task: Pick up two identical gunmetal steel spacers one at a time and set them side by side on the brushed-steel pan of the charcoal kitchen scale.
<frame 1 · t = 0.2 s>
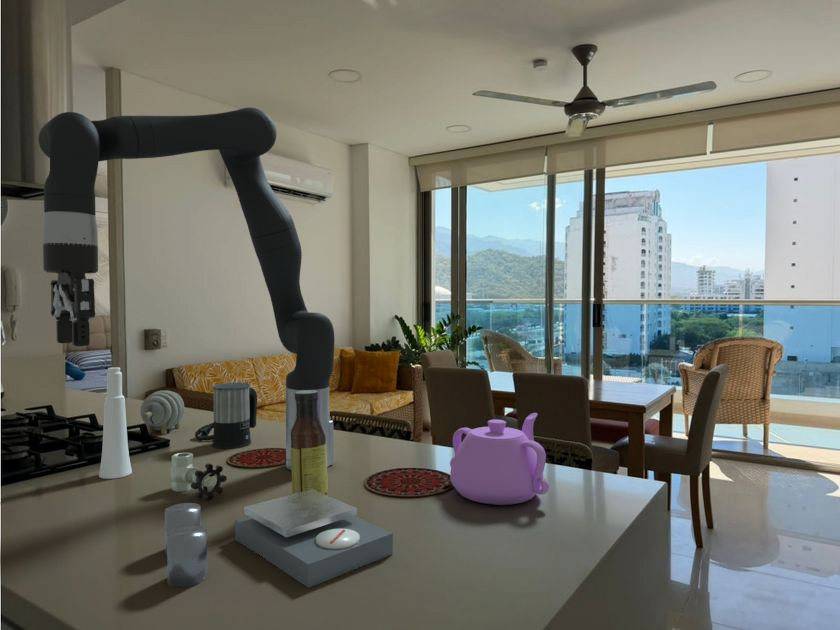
hand: (72, 344, 93), 29 cm above the kitchen counter, fingers open, 8 cm apart
sauce bottle: (309, 503, 104), on the kitchen counter
valve: (193, 494, 108), on the kitchen counter
teapot: (503, 492, 110), on the kitchen counter
cosmetic bottle: (115, 475, 119), on the kitchen counter
spacer a: (183, 549, 84), on the kitchen counter
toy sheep: (161, 432, 158), on the kitchen counter
spacer b: (187, 578, 76), on the kitchen counter
pan: (300, 510, 87), point 5 cm above the kitchen counter, slide at -0.5 cm
scale: (311, 546, 85), on the kitchen counter
milk frother: (222, 442, 147), on the kitchen counter
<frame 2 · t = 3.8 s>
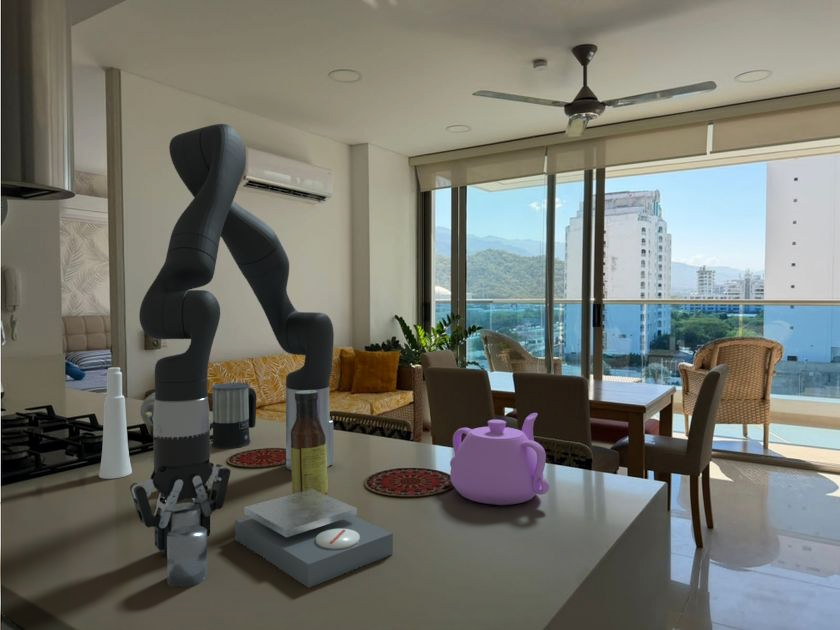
hand: (183, 545, 84), 1 cm above the kitchen counter, fingers closed on spacer a, 4 cm apart
spacer a: (183, 549, 84), on the kitchen counter, touching gripper
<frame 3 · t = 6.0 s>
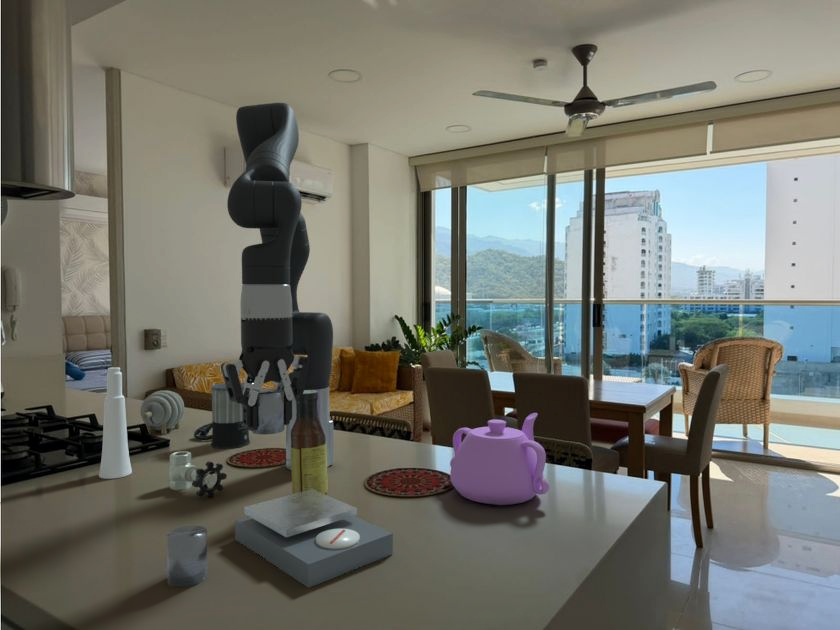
hand: (268, 426, 88), 17 cm above the kitchen counter, fingers closed on spacer a, 4 cm apart
spacer a: (268, 430, 88), point 16 cm above the kitchen counter, touching gripper
when the fingers open (7 cm above the kitchen counter, at t = 8.5 s): spacer a drops 2 cm, resting on pan.
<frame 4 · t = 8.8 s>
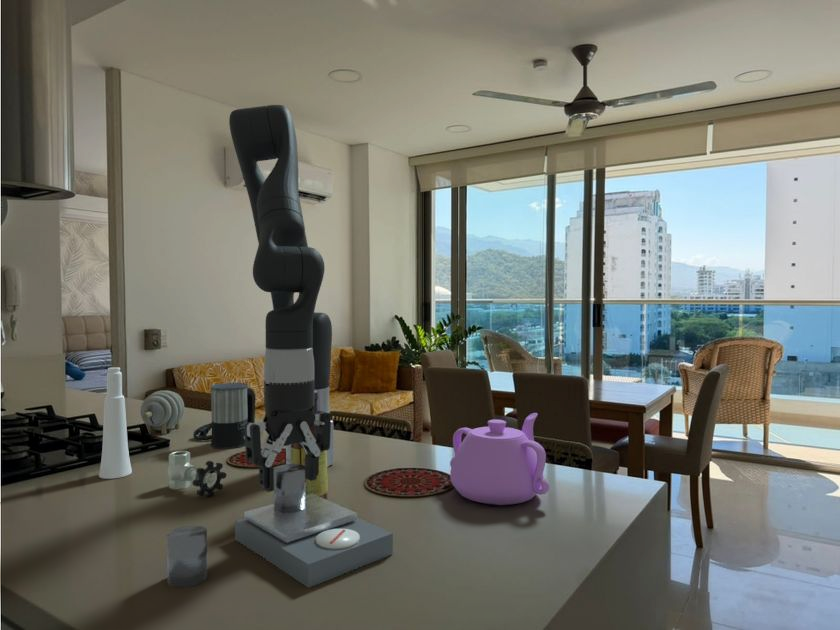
hand: (289, 484, 89), 8 cm above the kitchen counter, fingers open, 7 cm apart
spacer a: (289, 507, 89), point 4 cm above the kitchen counter, touching pan
pan: (300, 515, 87), point 4 cm above the kitchen counter, slide at -1.2 cm, touching spacer a
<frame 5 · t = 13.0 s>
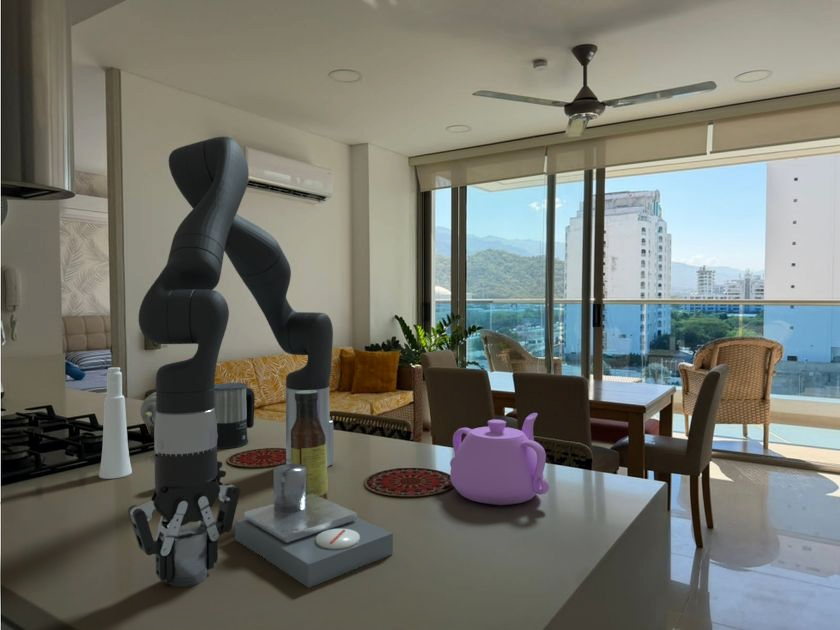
hand: (187, 573, 76), 1 cm above the kitchen counter, fingers closed on spacer b, 4 cm apart
spacer b: (187, 578, 76), on the kitchen counter, touching gripper
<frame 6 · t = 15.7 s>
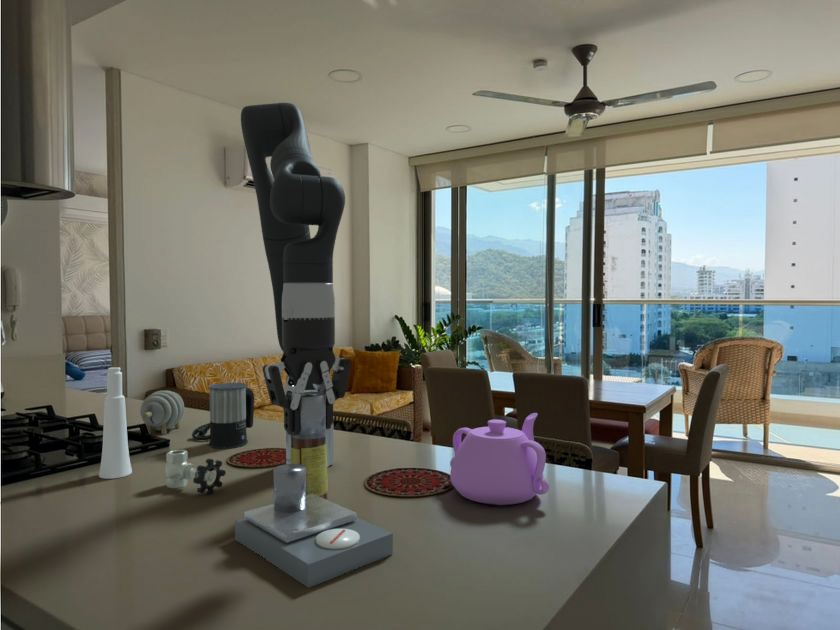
hand: (309, 430, 85), 17 cm above the kitchen counter, fingers closed on spacer b, 4 cm apart
spacer b: (309, 435, 85), point 16 cm above the kitchen counter, touching gripper
when the fingers open (7 cm above the kitchen counter, at t = 18.0 s): spacer b drops 2 cm, resting on pan.
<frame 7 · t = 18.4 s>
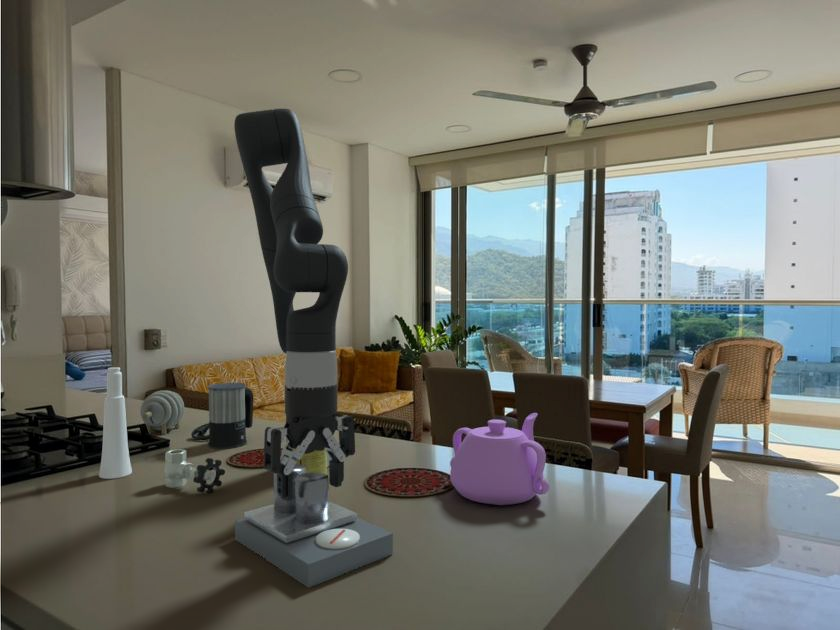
hand: (311, 492, 85), 8 cm above the kitchen counter, fingers open, 8 cm apart
spacer b: (311, 518, 85), point 4 cm above the kitchen counter, touching pan
pan: (300, 515, 87), point 4 cm above the kitchen counter, slide at -1.3 cm, touching spacer a, spacer b
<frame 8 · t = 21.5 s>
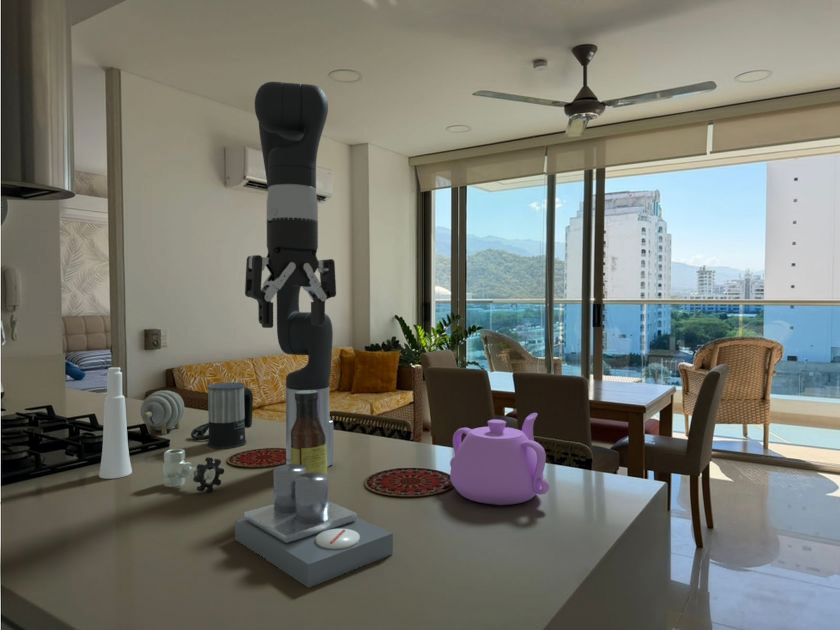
hand: (292, 326, 88), 32 cm above the kitchen counter, fingers open, 8 cm apart
at the end: spacer a inside the target area on the scale (3.0 cm from its centre), point 4.2 cm above the scale's base; spacer b inside the target area on the scale (3.0 cm from its centre), point 4.2 cm above the scale's base; spacer b tilted 0° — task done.
